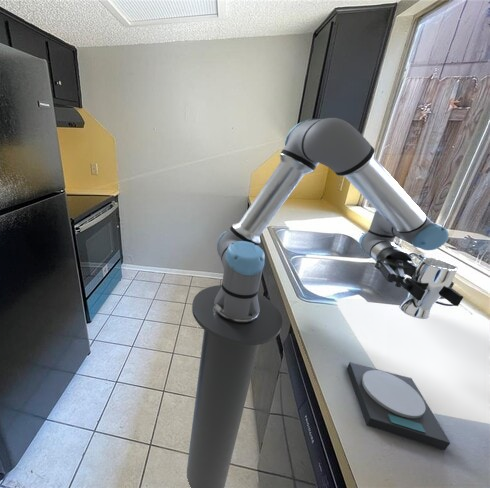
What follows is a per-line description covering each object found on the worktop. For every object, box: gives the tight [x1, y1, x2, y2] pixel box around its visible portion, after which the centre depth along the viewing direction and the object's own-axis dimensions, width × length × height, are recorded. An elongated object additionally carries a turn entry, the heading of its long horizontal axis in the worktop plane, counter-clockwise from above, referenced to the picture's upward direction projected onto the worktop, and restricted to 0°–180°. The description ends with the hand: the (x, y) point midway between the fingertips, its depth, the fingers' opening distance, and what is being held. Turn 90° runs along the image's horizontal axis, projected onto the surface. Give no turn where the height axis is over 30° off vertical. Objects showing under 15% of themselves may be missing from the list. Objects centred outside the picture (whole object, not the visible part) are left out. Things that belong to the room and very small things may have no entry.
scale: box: [346, 361, 451, 451], centre depth 58 cm, size 15×13×3 cm
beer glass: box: [398, 257, 458, 320], centre depth 67 cm, size 7×7×15 cm
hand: (439, 298), depth 62 cm, fingers closed on beer glass, 7 cm apart
